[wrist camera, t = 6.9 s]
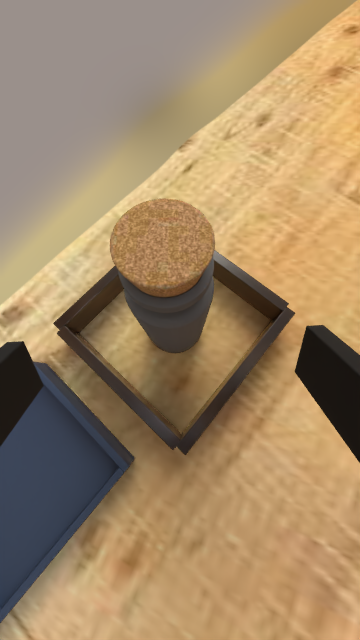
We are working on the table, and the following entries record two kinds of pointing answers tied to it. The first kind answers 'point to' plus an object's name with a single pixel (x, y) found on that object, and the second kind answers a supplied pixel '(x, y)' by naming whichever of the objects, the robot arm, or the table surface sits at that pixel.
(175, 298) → the bottle
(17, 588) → the tray
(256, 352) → the dark brown square frame
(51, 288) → the table surface
